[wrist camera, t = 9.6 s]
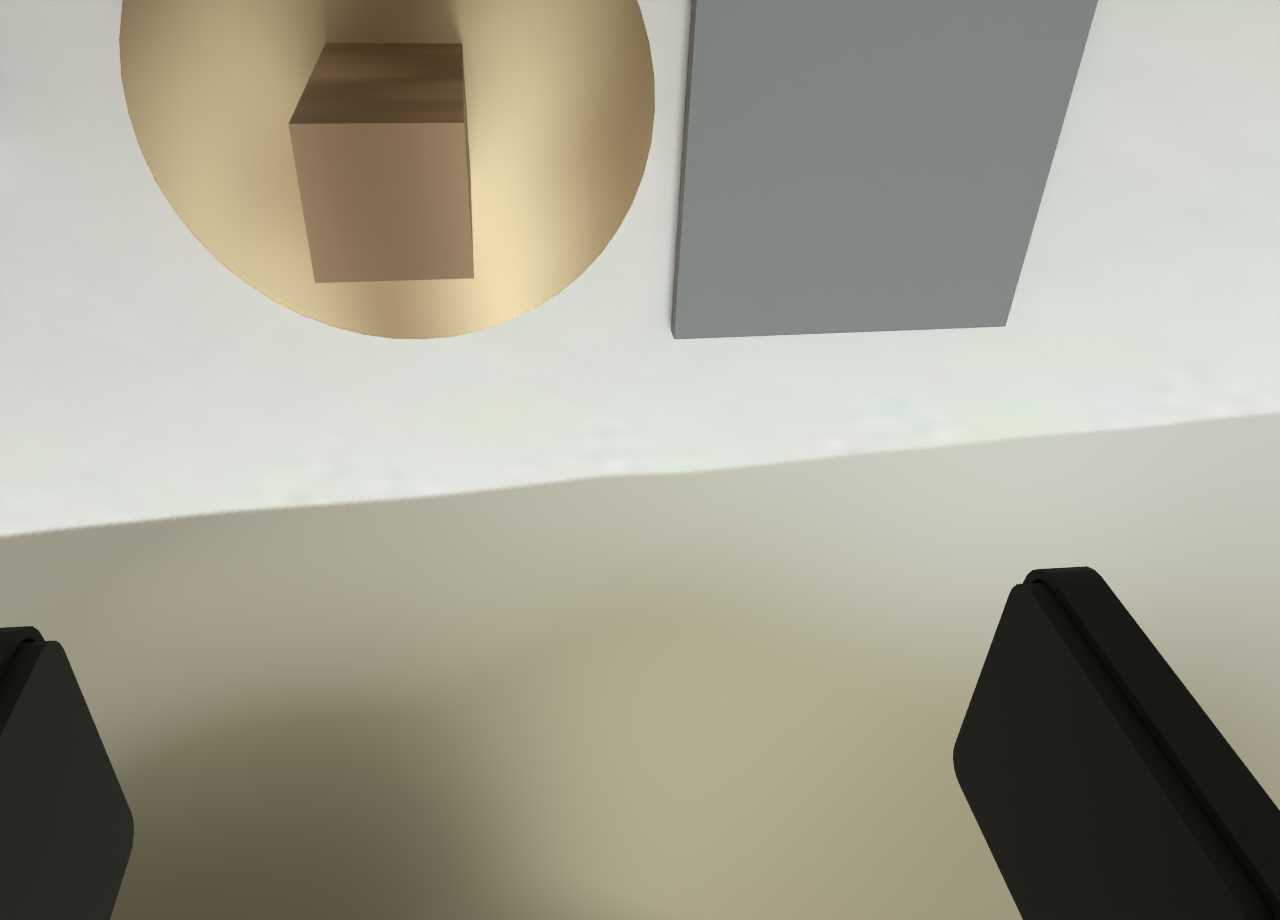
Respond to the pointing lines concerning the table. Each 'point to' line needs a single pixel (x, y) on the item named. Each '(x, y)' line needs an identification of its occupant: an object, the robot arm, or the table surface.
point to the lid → (394, 147)
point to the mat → (866, 160)
